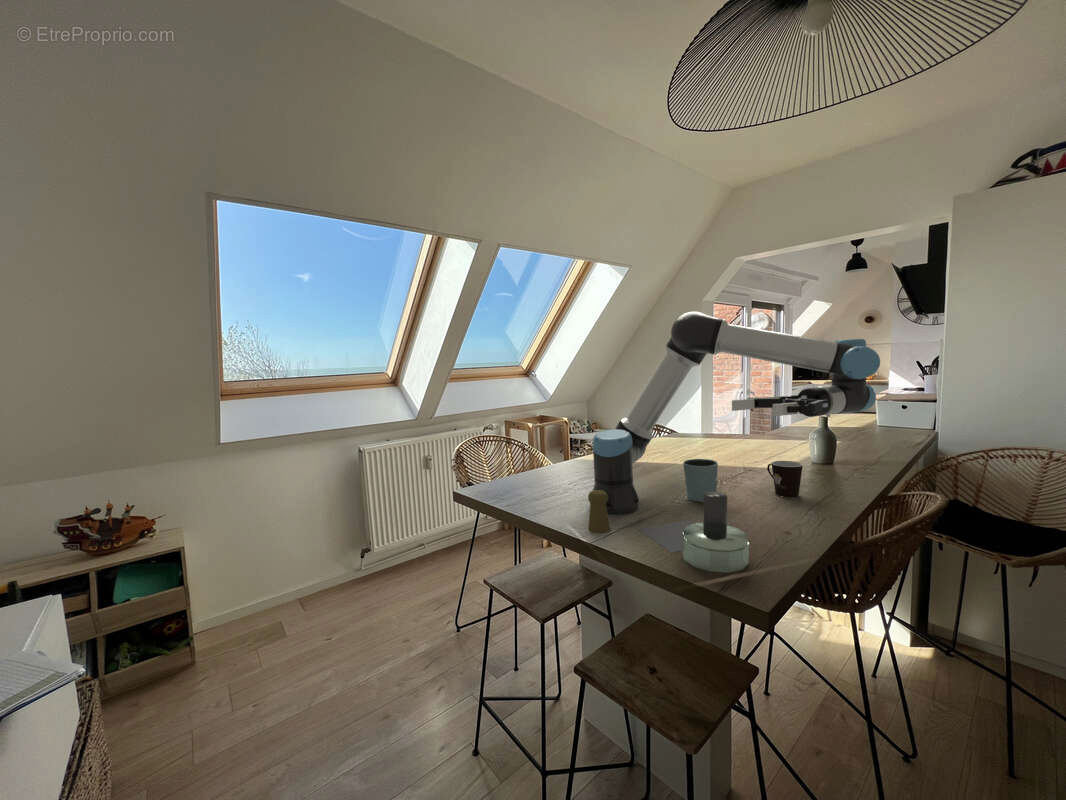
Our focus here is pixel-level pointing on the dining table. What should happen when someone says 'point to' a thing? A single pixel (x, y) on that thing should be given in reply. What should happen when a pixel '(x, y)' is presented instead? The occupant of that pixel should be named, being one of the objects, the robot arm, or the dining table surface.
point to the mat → (668, 534)
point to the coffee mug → (786, 477)
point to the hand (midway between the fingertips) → (752, 407)
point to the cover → (715, 539)
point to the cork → (598, 512)
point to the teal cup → (700, 478)
